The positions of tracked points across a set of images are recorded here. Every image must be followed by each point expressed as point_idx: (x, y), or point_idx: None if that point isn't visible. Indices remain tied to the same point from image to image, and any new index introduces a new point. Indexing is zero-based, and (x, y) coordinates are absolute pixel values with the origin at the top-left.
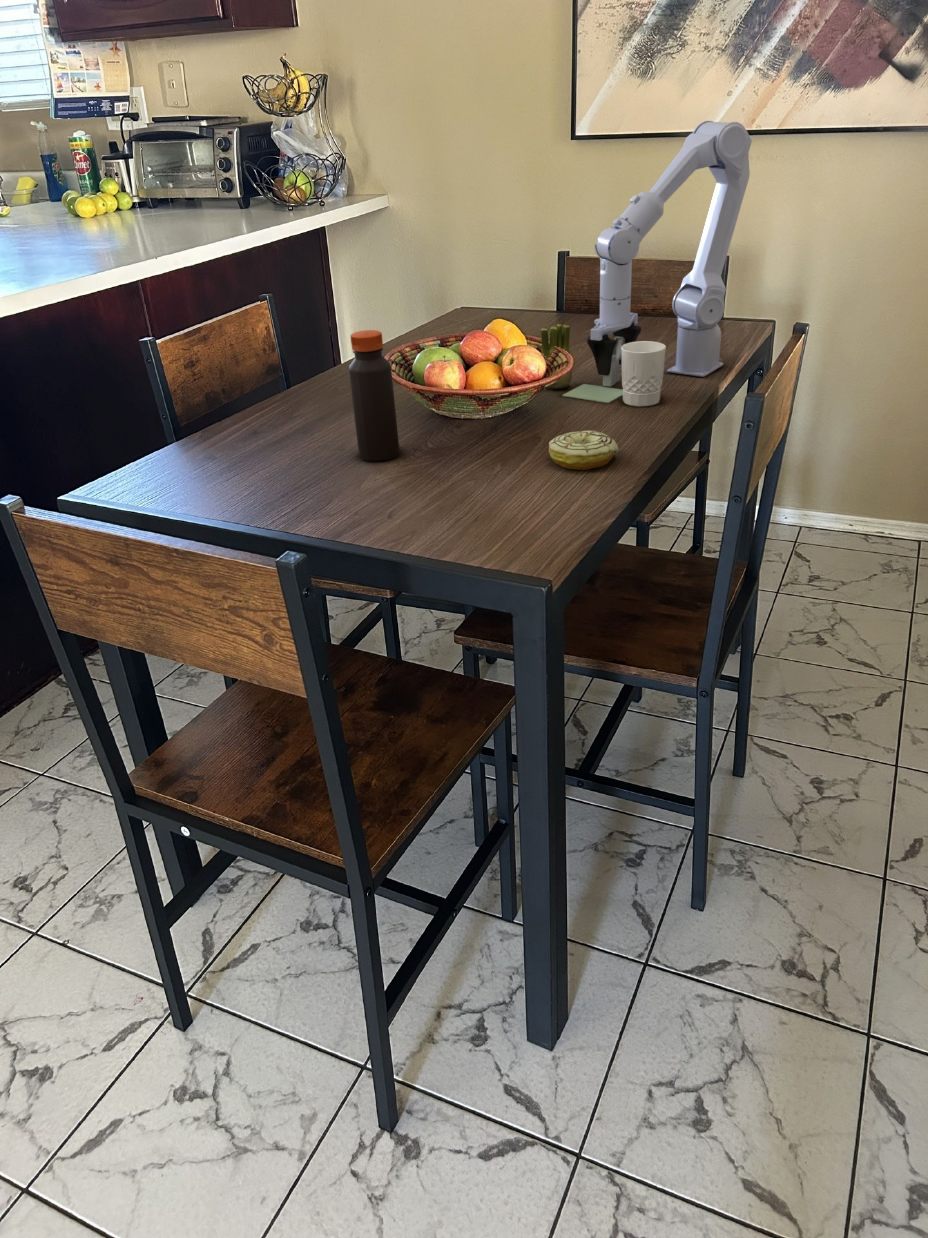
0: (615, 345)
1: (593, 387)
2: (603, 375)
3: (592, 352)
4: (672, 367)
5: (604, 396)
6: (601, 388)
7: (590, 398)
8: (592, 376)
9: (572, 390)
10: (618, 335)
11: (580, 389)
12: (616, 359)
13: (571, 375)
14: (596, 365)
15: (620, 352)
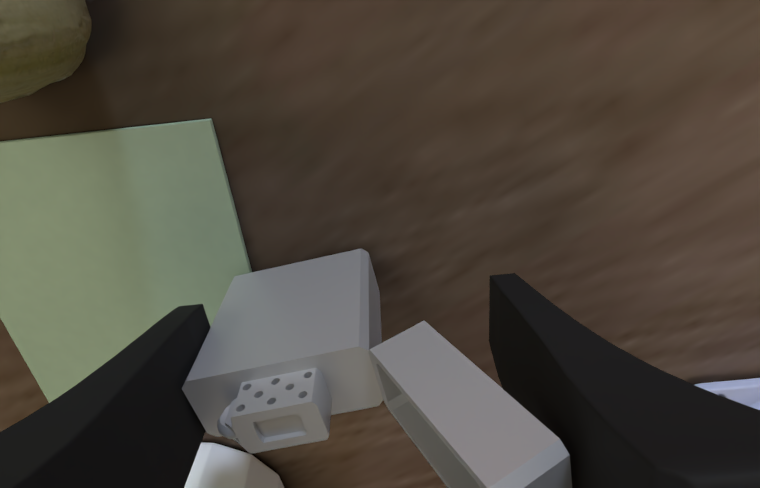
0: (463, 412)
1: (192, 226)
2: (212, 323)
3: (3, 433)
4: (751, 390)
5: None
6: (211, 278)
7: (25, 332)
8: (427, 35)
9: (32, 150)
10: (595, 475)
11: (95, 182)
12: (351, 398)
13: (62, 76)
14: (132, 344)
15: (412, 438)
